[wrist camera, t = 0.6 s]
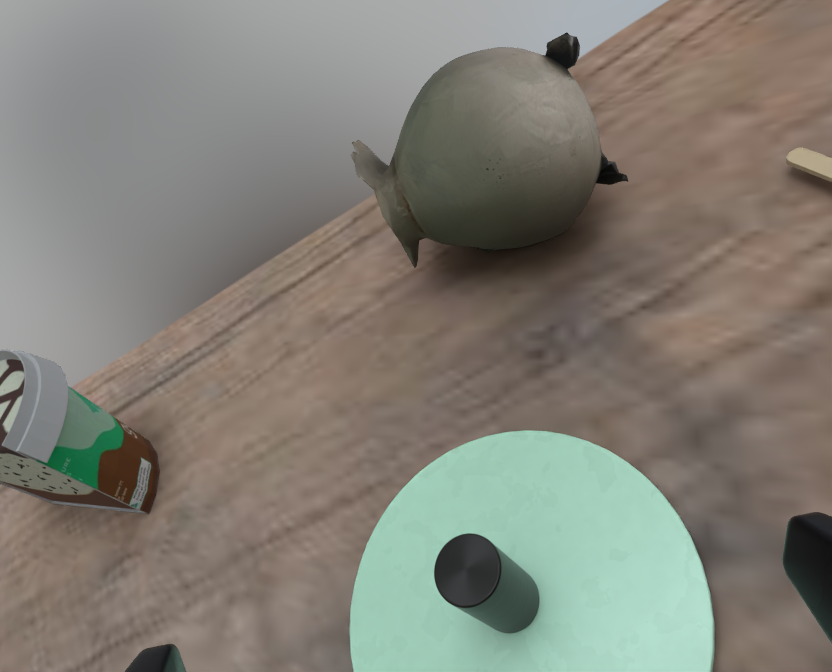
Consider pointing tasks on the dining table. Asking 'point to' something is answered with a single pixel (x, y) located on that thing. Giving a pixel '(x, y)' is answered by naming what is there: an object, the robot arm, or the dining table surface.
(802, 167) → the popsicle
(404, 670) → the pot lid
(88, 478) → the food container
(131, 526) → the dining table surface
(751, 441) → the dining table surface
